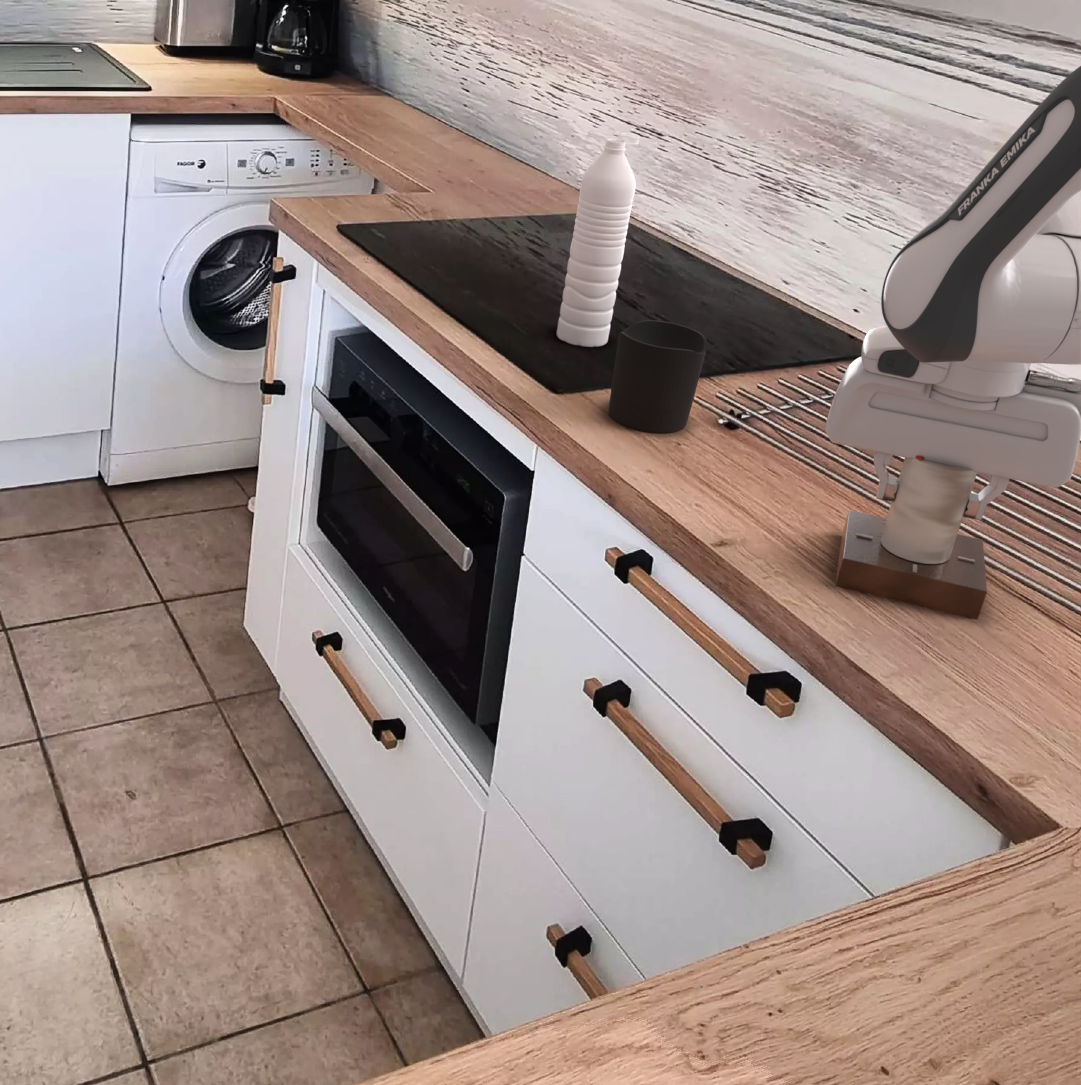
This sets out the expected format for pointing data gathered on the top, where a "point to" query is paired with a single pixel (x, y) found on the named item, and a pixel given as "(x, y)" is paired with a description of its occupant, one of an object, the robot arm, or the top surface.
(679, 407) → the pen holder
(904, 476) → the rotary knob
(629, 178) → the water bottle
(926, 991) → the top surface
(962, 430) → the robot arm
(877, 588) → the roll stand
